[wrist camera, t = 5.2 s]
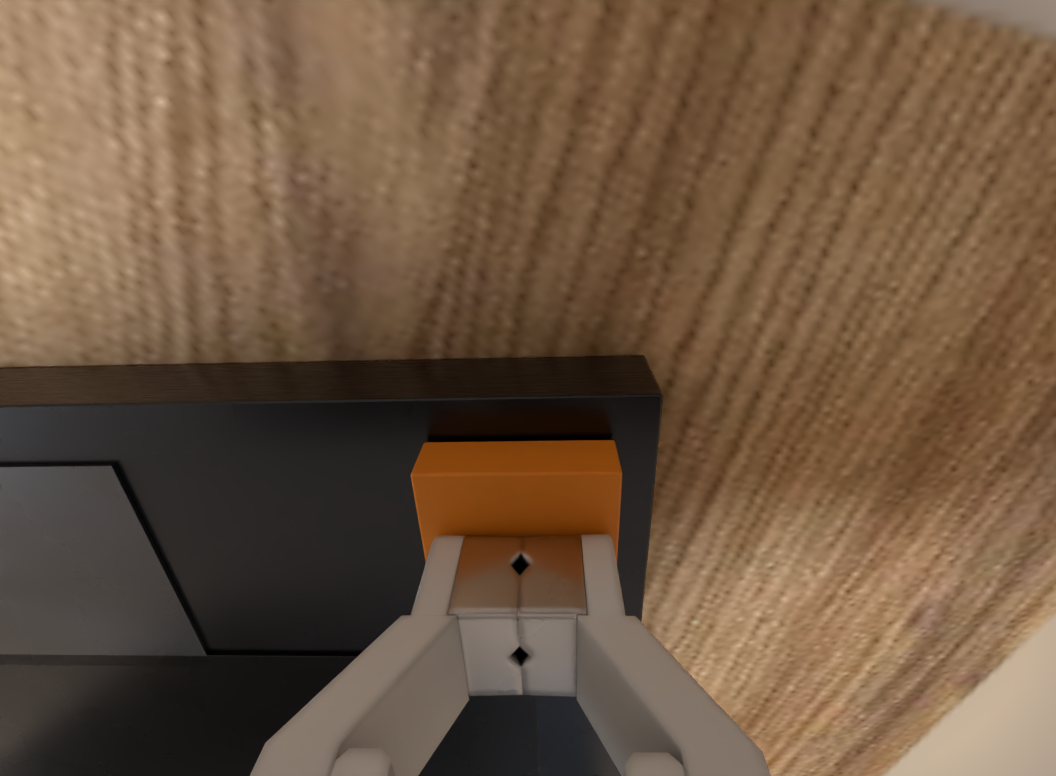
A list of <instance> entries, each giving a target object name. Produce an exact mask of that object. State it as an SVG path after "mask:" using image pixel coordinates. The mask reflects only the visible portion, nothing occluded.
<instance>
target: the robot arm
mask: <svg viewBox="0 0 1056 776" xmlns="http://www.w3.org/2000/svg"><path fill="white" fill-rule="evenodd" d="M491 695H539V696H564V697H577V701H578V703H579V704H580V706H581V708H582V710H583V711H584V713H585V715H586V716H587V718H588V720H589V721H590V723H591V725H592V727H593V728H594V730H595V732H596V733H597V735H598V737H599V738H600V740H601V742H602V744H603V745H604V747H605V749H606V750H607V752H608V754H609V755H610V757H611V759H612V761H613V762H614V764H615V766H616V767H617V769H618V771H619V772H620V774H621V776H771V775H770V772H769V769H768V766H767V764H766V761H765V758H764V755H763V752H762V751H761V750H760V749H759V748H758V747H757V746H756V744H755V743H754V742H753V741H752V740H751V739H750V738H749V737H748V736H747V735H746V734H745V733H744V732H743V731H742V730H741V728H740V727H739V726H738V725H737V724H736V723H735V722H734V721H733V720H732V719H731V718H730V717H729V716H728V715H727V713H726V712H725V711H724V710H723V709H722V708H721V707H720V706H719V705H718V704H717V703H716V702H715V701H714V700H713V699H712V697H711V696H710V695H709V694H708V693H707V692H706V691H705V690H704V689H703V688H702V687H701V686H700V685H699V684H698V682H697V681H696V680H695V679H694V678H693V677H692V676H691V675H690V674H689V673H688V672H687V671H686V670H685V669H684V667H683V666H682V665H681V664H680V663H679V662H678V661H677V660H676V659H675V658H674V657H673V656H672V655H671V654H670V653H669V651H668V650H667V649H666V648H665V647H664V646H663V645H662V644H661V643H660V642H659V641H658V640H657V639H656V638H655V636H654V635H653V634H652V633H651V632H650V631H649V630H648V629H647V628H646V627H645V626H644V625H643V624H642V623H641V622H640V620H639V619H638V618H637V617H636V616H626V615H625V609H624V603H623V598H622V592H621V586H620V580H619V574H618V569H617V563H616V557H615V551H614V546H613V540H612V537H611V536H610V534H592V535H581V536H580V535H551V536H489V535H466V536H452V535H437V536H436V537H435V538H434V540H433V541H432V544H431V547H430V551H429V554H428V558H427V561H426V564H425V568H424V571H423V575H422V578H421V581H420V585H419V588H418V592H417V595H416V599H415V602H414V605H413V609H412V612H411V615H401V616H400V617H399V618H398V619H397V620H396V621H395V622H394V623H393V624H392V625H391V626H390V627H389V628H387V629H386V630H385V631H384V632H383V633H382V634H381V635H380V636H379V637H378V638H377V639H376V640H375V641H374V642H373V643H371V644H370V645H369V646H368V647H367V648H366V649H365V650H364V651H363V652H362V653H361V654H360V655H359V656H358V657H357V658H355V659H354V660H353V661H352V662H351V663H350V664H349V665H348V666H347V667H346V668H345V669H344V670H343V671H342V672H340V673H339V674H338V675H337V676H336V677H335V678H334V679H333V680H332V681H331V682H330V683H329V684H328V685H327V686H326V687H324V688H323V689H322V690H321V691H320V692H319V693H318V694H317V695H316V696H315V697H314V698H313V699H312V700H311V701H310V702H308V703H307V704H306V705H305V706H304V707H303V708H302V709H301V710H300V711H299V712H298V713H297V714H296V715H295V716H294V717H292V718H291V719H290V720H289V721H288V722H287V723H286V724H285V725H284V726H283V727H282V728H281V729H280V730H279V731H278V732H276V733H275V734H274V735H273V736H272V737H271V738H270V739H269V740H268V741H267V742H266V743H265V745H264V747H263V749H262V751H261V753H260V755H259V757H258V759H257V761H256V764H255V766H254V768H253V770H252V772H251V774H250V776H418V775H419V774H420V772H421V771H422V769H423V768H424V766H425V765H426V763H427V762H428V760H429V759H430V757H431V756H432V754H433V753H434V751H435V750H436V748H437V747H438V745H439V744H440V742H441V741H442V739H443V738H444V736H445V735H446V734H447V732H448V731H449V729H450V728H451V726H452V725H453V723H454V722H455V720H456V719H457V717H458V716H459V714H460V713H461V711H462V710H463V708H464V707H465V705H466V704H467V702H468V701H469V696H491Z"/></svg>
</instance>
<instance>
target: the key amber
mask: <svg viewBox="0 0 1056 776" xmlns="http://www.w3.org/2000/svg"><path fill="white" fill-rule="evenodd" d="M411 481H412V486H413V492H414V498H415V503H416V509H417V515H418V521H419V526H420V532H421V538H422V544H423V549H424V555H425V561H427V558H428V554H429V551H430V547H431V544H432V541H433V540H434V538H435V537H436V536H437V535H452V536H466V535H489V536H551V535H580V536H581V535H592V534H610V536H611V537H612V540H613V546H614V551H615V557H616V563H617V554H618V538H619V521H620V504H621V488H622V470H621V466H620V461H619V457H618V453H617V448H616V444H615V441H614V440H568V441H488V442H426V443H424V444H423V446H422V449H421V451H420V454H419V456H418V458H417V461H416V463H415V466H414V468H413V471H412V473H411Z"/></svg>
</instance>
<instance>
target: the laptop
mask: <svg viewBox="0 0 1056 776" xmlns="http://www.w3.org/2000/svg"><path fill="white" fill-rule="evenodd" d="M662 402H663V395H662V392H661V390H660V388H659V386H658V384H657V382H656V380H655V378H654V375H653V373H652V371H651V369H650V367H649V365H648V363H647V360H646V358H645V356H643V355H635V356H586V357H538V358H489V359H440V360H391V361H342V362H293V363H245V364H196V365H147V366H98V367H49V368H1V369H0V776H250V774H251V772H252V770H253V768H254V766H255V764H256V761H257V759H258V757H259V755H260V753H261V751H262V749H263V747H264V745H265V743H266V742H267V741H268V740H269V739H270V738H271V737H272V736H273V735H274V734H275V733H276V732H278V731H279V730H280V729H281V728H282V727H283V726H284V725H285V724H286V723H287V722H288V721H289V720H290V719H291V718H292V717H294V716H295V715H296V714H297V713H298V712H299V711H300V710H301V709H302V708H303V707H304V706H305V705H306V704H307V703H308V702H310V701H311V700H312V699H313V698H314V697H315V696H316V695H317V694H318V693H319V692H320V691H321V690H322V689H323V688H324V687H326V686H327V685H328V684H329V683H330V682H331V681H332V680H333V679H334V678H335V677H336V676H337V675H338V674H339V673H340V672H342V671H343V670H344V669H345V668H346V667H347V666H348V665H349V664H350V663H351V662H352V661H353V660H354V659H355V658H357V657H358V656H359V655H360V654H361V653H362V652H363V651H364V650H365V649H366V648H367V647H368V646H369V645H370V644H371V643H373V642H374V641H375V640H376V639H377V638H378V637H379V636H380V635H381V634H382V633H383V632H384V631H385V630H386V629H387V628H389V627H390V626H391V625H392V624H393V623H394V622H395V621H396V620H397V619H398V618H399V617H400V616H401V615H411V612H412V609H413V605H414V602H415V599H416V595H417V592H418V588H419V585H420V581H421V578H422V575H423V571H424V568H425V564H426V561H425V555H424V549H423V544H422V538H421V532H420V526H419V521H418V515H417V509H416V503H415V498H414V492H413V486H412V481H411V473H412V471H413V468H414V466H415V463H416V461H417V458H418V456H419V454H420V451H421V449H422V446H423V444H424V443H426V442H488V441H568V440H614V441H615V444H616V448H617V453H618V457H619V461H620V466H621V470H622V488H621V504H620V521H619V538H618V554H617V569H618V574H619V580H620V586H621V592H622V598H623V603H624V609H625V615H626V616H636V617H637V618H638V619H639V620H640V622H641V619H642V609H643V598H644V588H645V578H646V568H647V557H648V547H649V537H650V526H651V516H652V506H653V495H654V485H655V475H656V464H657V454H658V444H659V433H660V423H661V413H662ZM418 776H621V774H620V772H619V771H618V769H617V767H616V766H615V764H614V762H613V761H612V759H611V757H610V755H609V754H608V752H607V750H606V749H605V747H604V745H603V744H602V742H601V740H600V738H599V737H598V735H597V733H596V732H595V730H594V728H593V727H592V725H591V723H590V721H589V720H588V718H587V716H586V715H585V713H584V711H583V710H582V708H581V706H580V704H579V703H578V701H577V697H564V696H539V695H491V696H469V701H468V702H467V704H466V705H465V707H464V708H463V710H462V711H461V713H460V714H459V716H458V717H457V719H456V720H455V722H454V723H453V725H452V726H451V728H450V729H449V731H448V732H447V734H446V735H445V736H444V738H443V739H442V741H441V742H440V744H439V745H438V747H437V748H436V750H435V751H434V753H433V754H432V756H431V757H430V759H429V760H428V762H427V763H426V765H425V766H424V768H423V769H422V771H421V772H420V774H419V775H418Z"/></svg>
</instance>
